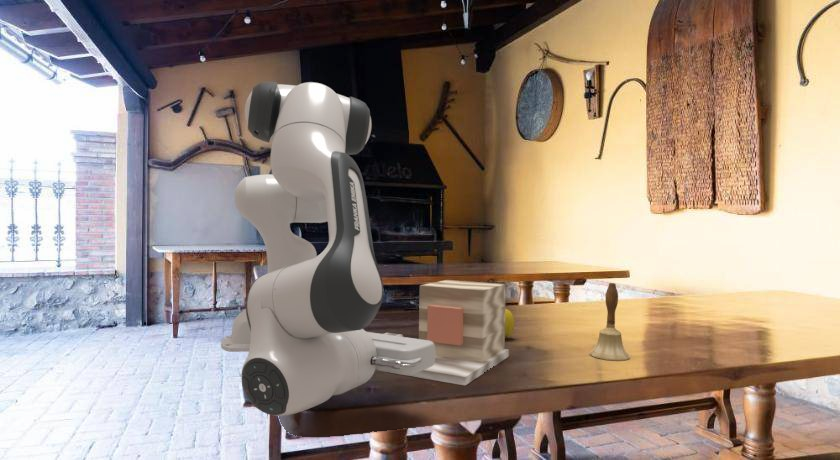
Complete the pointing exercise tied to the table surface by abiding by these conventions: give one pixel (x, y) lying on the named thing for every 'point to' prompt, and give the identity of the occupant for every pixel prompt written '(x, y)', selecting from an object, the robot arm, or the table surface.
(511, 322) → the lemon
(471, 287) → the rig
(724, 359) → the table surface
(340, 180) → the robot arm
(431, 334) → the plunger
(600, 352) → the hand bell
